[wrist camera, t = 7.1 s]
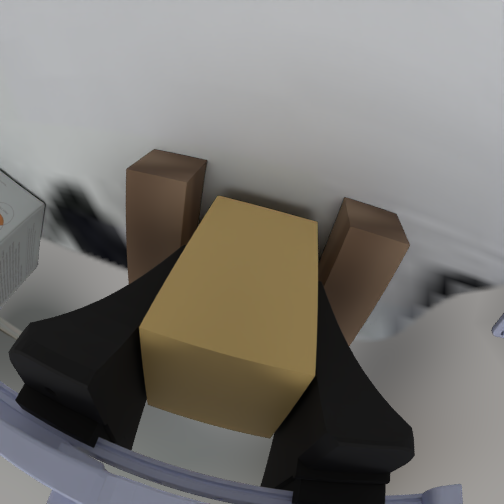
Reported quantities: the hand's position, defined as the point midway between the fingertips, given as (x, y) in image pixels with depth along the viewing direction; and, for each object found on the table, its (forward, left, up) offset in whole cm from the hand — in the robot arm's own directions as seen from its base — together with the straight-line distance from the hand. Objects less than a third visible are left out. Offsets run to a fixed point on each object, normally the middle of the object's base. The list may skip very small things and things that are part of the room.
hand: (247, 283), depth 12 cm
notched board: (0, 0, -3) cm, 3 cm away
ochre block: (0, 0, -2) cm, 2 cm away
